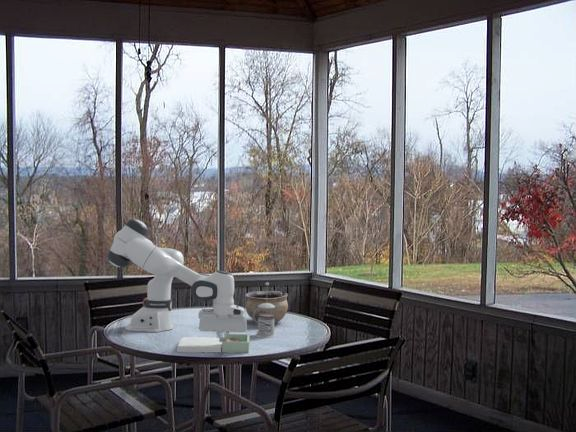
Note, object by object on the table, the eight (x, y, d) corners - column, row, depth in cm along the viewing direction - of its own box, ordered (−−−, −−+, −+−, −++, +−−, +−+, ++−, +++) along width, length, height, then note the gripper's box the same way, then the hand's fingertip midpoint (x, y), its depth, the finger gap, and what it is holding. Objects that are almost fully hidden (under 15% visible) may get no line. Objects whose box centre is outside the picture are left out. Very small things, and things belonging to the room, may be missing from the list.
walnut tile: (226, 346, 278) (226, 341, 277) (227, 343, 283) (227, 338, 282) (238, 346, 278) (238, 341, 278) (238, 343, 283) (238, 339, 283)
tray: (222, 352, 269) (222, 341, 269) (224, 343, 284) (224, 333, 284) (248, 352, 269) (248, 342, 269) (249, 344, 284) (249, 334, 284)
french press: (271, 338, 295) (273, 284, 294) (248, 336, 299) (249, 282, 298) (279, 334, 305) (280, 281, 304) (256, 331, 309) (258, 280, 308)
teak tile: (224, 345, 270) (226, 341, 270) (225, 342, 275) (227, 338, 275) (235, 350, 271) (237, 346, 270) (236, 347, 276) (238, 343, 275)
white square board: (177, 352, 268) (177, 346, 268) (182, 342, 284) (182, 337, 284) (220, 352, 268) (220, 346, 268) (223, 343, 284) (223, 337, 284)
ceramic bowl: (294, 326, 324) (294, 296, 323) (252, 328, 316) (253, 298, 315) (278, 317, 344) (279, 289, 344) (239, 319, 336) (240, 290, 336)
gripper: (197, 310, 268) (197, 343, 269) (247, 311, 269) (246, 343, 270) (199, 307, 275) (198, 339, 275) (247, 308, 276) (246, 340, 276)
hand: (222, 341), depth 273 cm, fingers closed
